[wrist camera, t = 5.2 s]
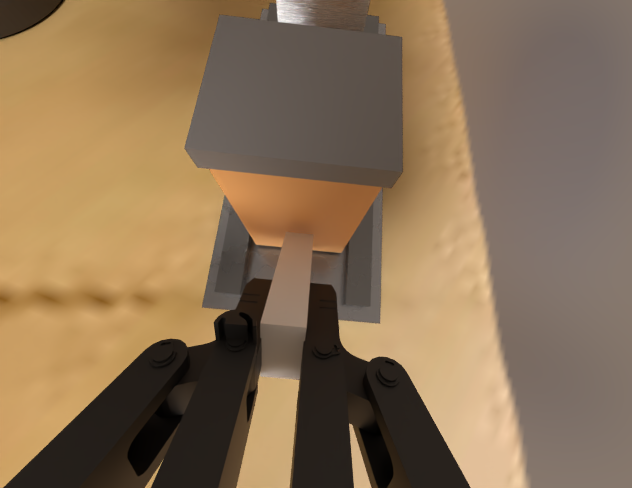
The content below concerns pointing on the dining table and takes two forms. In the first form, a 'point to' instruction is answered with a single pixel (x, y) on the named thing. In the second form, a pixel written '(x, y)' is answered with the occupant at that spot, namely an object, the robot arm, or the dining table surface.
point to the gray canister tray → (326, 267)
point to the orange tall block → (299, 126)
